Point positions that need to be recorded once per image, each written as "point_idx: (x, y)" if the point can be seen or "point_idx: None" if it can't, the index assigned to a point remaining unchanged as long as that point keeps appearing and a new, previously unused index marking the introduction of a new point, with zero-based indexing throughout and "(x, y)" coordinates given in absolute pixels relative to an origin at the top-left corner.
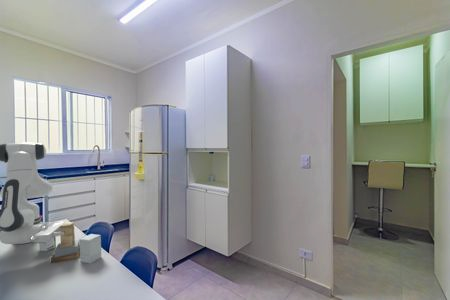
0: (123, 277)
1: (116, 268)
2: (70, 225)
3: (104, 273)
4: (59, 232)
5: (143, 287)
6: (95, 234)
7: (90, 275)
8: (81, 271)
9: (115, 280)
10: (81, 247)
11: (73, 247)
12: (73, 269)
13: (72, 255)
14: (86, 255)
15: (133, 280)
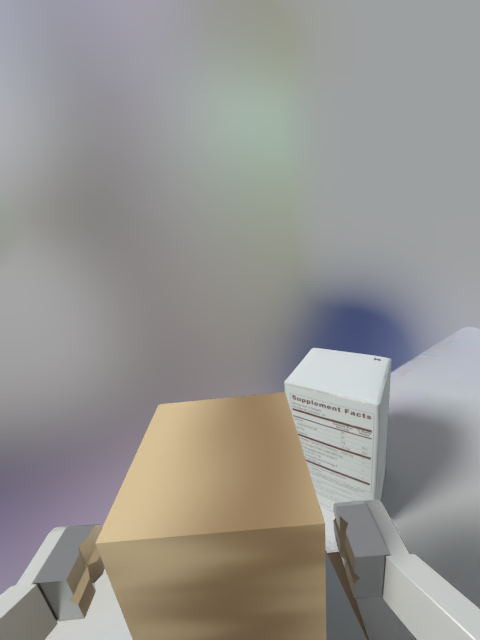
0: (438, 363)
1: (397, 384)
2: (286, 398)
3: (439, 400)
4: (419, 559)
5: (458, 335)
6: (301, 363)
7: (474, 432)
8: (466, 478)
9: (461, 371)
10: (382, 441)
11: (325, 551)
12: (469, 533)
13: (350, 591)
14: (385, 451)
15: (441, 348)
